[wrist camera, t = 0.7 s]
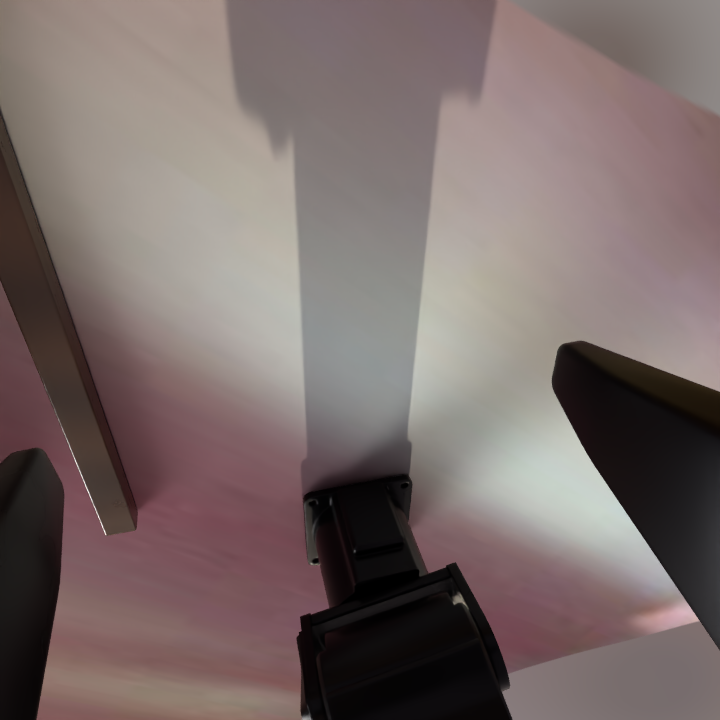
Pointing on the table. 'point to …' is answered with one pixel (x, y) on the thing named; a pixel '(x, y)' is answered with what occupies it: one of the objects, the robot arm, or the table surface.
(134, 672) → the table surface
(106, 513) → the brown wooden flat frame
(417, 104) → the table surface
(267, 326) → the table surface
